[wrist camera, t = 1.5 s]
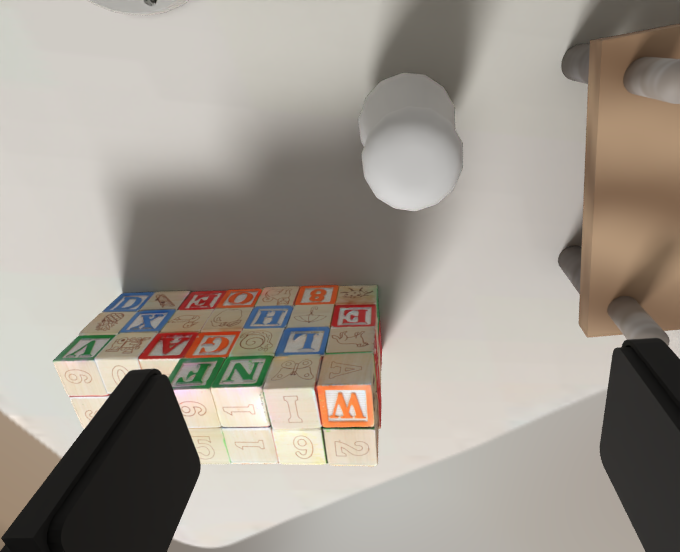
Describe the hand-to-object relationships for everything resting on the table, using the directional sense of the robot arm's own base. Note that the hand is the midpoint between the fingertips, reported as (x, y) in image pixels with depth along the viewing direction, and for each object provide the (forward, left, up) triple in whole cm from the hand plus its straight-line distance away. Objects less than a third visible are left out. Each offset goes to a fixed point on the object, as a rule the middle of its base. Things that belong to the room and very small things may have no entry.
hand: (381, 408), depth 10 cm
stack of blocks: (+12, -13, -25) cm, 30 cm away
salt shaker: (-2, +1, -25) cm, 25 cm away
